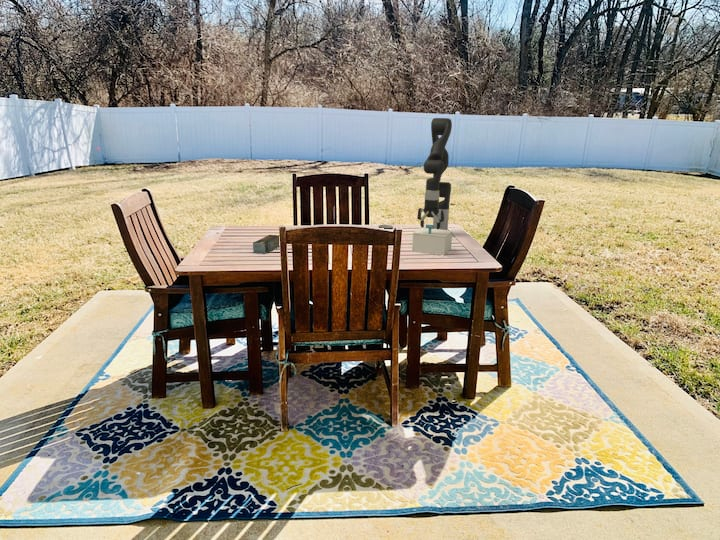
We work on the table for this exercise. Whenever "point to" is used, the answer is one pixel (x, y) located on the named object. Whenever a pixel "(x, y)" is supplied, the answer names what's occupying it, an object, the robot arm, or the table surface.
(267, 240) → the beverage carton
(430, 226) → the lid
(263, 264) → the table surface
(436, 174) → the robot arm
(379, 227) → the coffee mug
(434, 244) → the box
